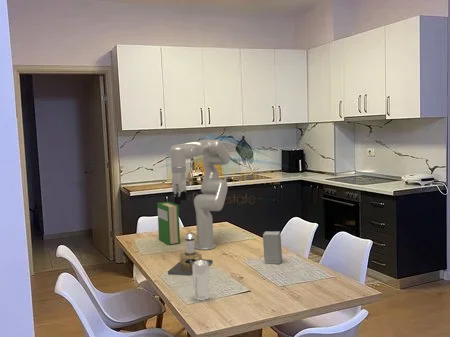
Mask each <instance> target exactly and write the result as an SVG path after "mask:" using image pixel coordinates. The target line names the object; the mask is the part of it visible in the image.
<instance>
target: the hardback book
mask: <svg viewBox="0 0 450 337" xmlns="http://www.w3.org/2000/svg"><path fill="white" fill-rule="evenodd" d="M156 205H157V224H158V225H157V226H158V229H157V230H158V241H160V242H162V243H163V242H164V244H165V245H167V246H168V245H170V246H171V245H174V244H178V245H180V244H181V236H180V234H181V233H180V231H181V230H180V209H179V204H175V203H173V202H169V201H164V202H163V201H162V202H157V203H156Z"/></svg>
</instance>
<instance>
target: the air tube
mask: <svg viewBox="0 0 450 337" xmlns="http://www.w3.org/2000/svg"><path fill="white" fill-rule="evenodd" d="M195 238H196V237H195V233H193V232H189V233H188V232H187V233H185V252H186V255H195V252H196V248H195V245H196V243H195ZM195 259H196V258H194V259H186V260H187V263H193V262H195Z"/></svg>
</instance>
